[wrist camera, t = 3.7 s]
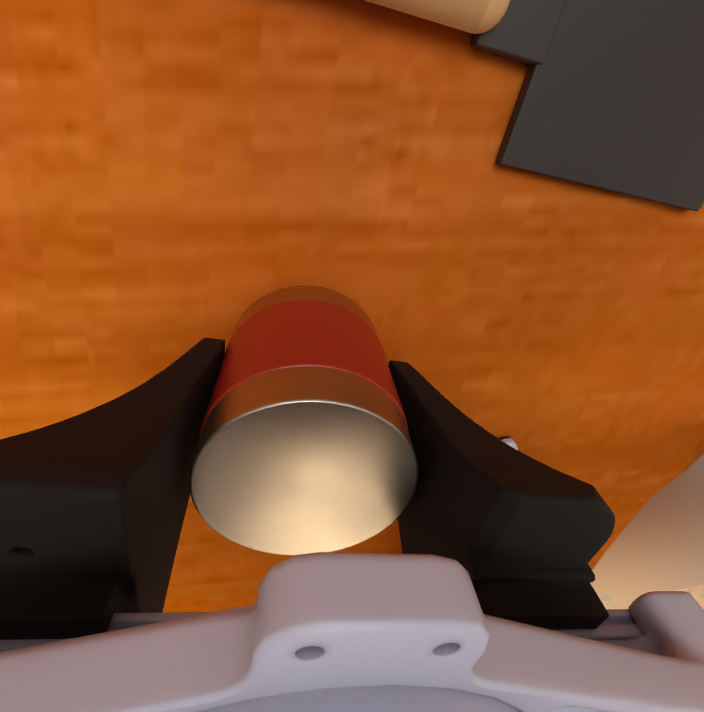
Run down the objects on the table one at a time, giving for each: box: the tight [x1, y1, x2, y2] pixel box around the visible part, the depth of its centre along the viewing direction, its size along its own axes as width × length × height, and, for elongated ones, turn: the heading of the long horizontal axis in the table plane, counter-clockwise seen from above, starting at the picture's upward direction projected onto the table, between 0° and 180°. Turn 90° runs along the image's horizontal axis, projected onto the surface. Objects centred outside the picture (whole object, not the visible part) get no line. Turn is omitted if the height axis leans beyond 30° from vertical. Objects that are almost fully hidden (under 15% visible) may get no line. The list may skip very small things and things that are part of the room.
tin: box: [189, 286, 418, 555], centre depth 12 cm, size 5×5×6 cm
